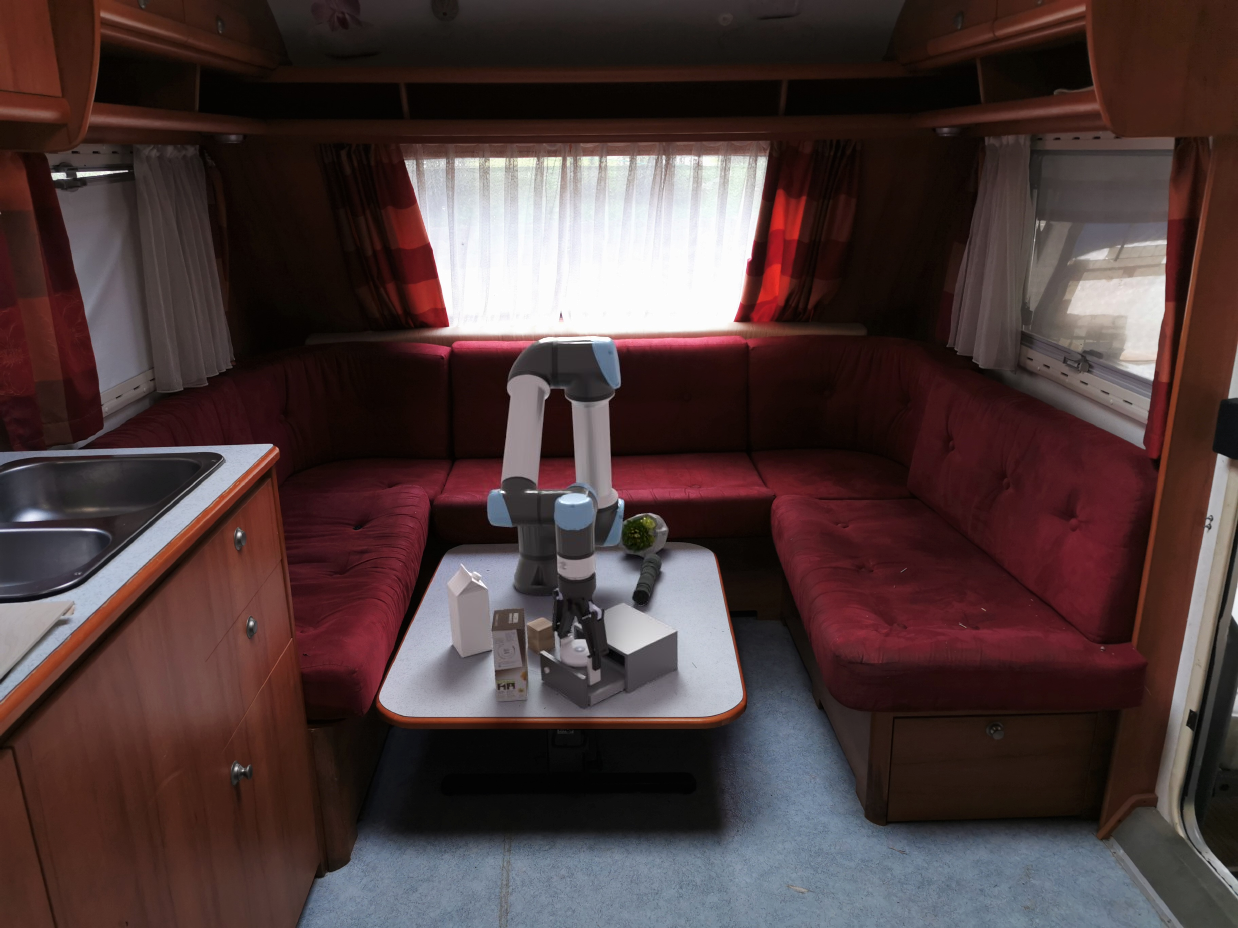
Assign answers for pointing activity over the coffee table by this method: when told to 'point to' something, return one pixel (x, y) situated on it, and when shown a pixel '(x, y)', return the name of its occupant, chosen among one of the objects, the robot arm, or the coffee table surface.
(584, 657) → the disc
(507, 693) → the coffee box
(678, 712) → the coffee table surface
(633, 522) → the potted plant
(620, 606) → the housing
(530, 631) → the brown boxy piece
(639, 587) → the flashlight
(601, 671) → the drawer
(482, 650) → the milk carton
